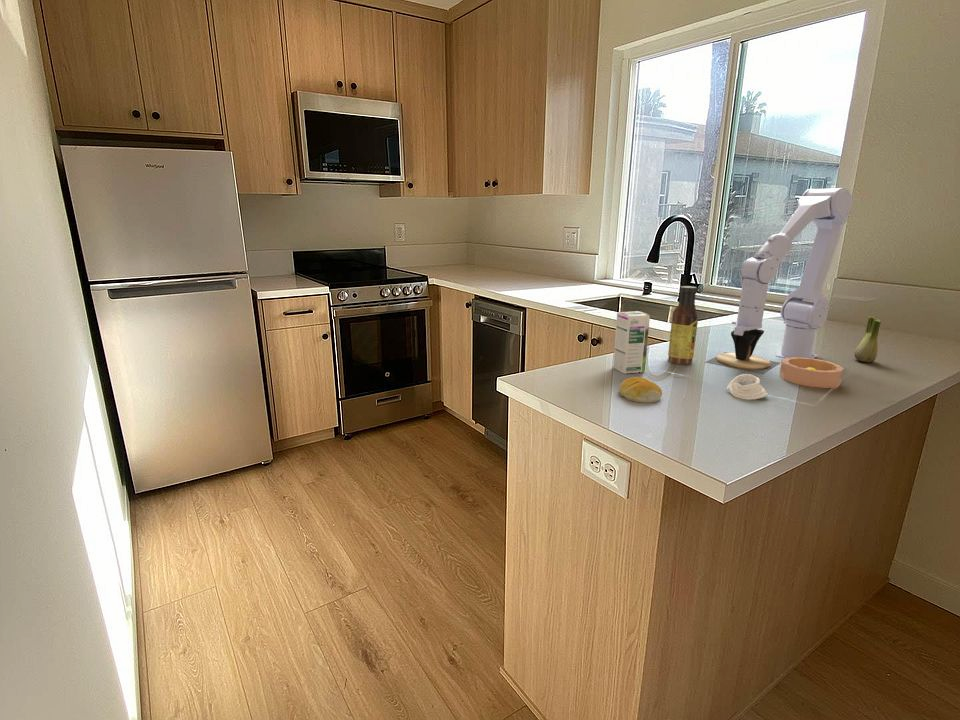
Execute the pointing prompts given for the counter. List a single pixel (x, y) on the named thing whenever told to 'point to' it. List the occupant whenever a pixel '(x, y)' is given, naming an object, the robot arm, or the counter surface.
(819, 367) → the ring
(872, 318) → the fennel bulb
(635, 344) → the syrup box
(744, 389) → the whipped cream
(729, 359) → the lid
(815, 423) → the counter surface
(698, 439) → the counter surface
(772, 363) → the mat
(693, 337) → the sauce bottle
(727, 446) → the counter surface
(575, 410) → the counter surface
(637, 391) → the bread roll
